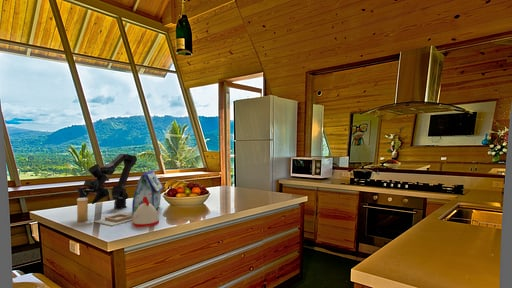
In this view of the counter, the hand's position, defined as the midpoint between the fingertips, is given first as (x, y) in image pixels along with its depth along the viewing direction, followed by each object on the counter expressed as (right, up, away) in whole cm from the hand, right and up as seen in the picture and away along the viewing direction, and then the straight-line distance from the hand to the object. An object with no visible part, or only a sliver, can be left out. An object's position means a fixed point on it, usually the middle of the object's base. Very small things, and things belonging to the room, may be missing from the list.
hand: (85, 203), depth 169 cm
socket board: (+20, -10, 0) cm, 22 cm away
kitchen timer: (+39, -10, -7) cm, 41 cm away
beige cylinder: (-1, -10, -2) cm, 10 cm away
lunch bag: (+28, -10, +24) cm, 38 cm away
